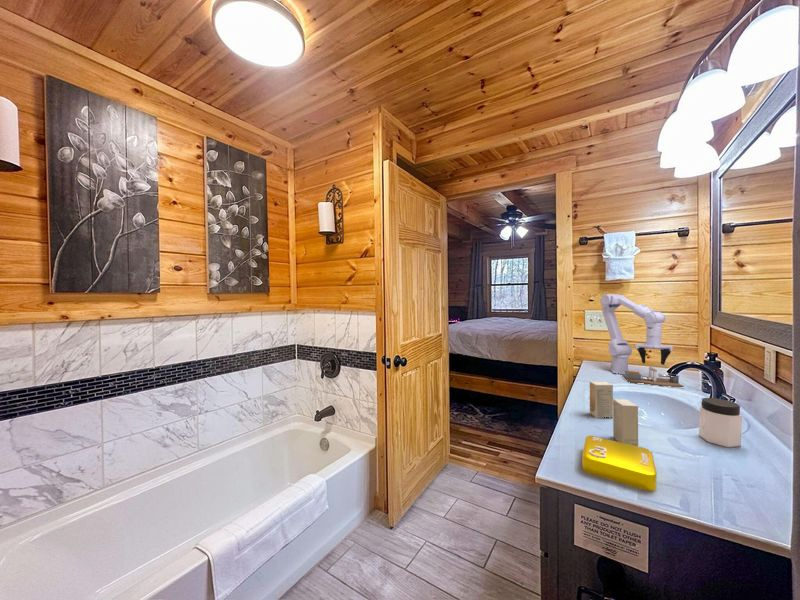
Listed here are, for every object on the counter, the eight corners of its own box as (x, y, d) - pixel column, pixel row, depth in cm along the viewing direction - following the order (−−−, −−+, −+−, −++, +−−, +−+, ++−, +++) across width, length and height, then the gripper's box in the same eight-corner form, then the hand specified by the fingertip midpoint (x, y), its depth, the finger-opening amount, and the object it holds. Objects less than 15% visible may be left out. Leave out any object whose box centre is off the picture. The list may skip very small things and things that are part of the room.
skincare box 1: (606, 413, 116) (607, 381, 115) (613, 418, 111) (614, 384, 111) (588, 413, 116) (589, 380, 116) (594, 417, 112) (595, 384, 111)
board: (622, 376, 163) (622, 375, 163) (672, 381, 156) (672, 379, 156) (629, 383, 152) (629, 381, 152) (683, 388, 145) (683, 386, 145)
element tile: (657, 495, 71) (657, 475, 70) (581, 473, 79) (581, 454, 79) (651, 464, 83) (651, 447, 83) (586, 448, 91) (586, 432, 91)
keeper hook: (656, 379, 155) (656, 371, 155) (674, 381, 152) (674, 372, 152) (660, 382, 151) (660, 373, 151) (678, 383, 148) (678, 375, 148)
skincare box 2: (638, 447, 91) (639, 406, 91) (621, 445, 92) (622, 405, 92) (627, 437, 97) (628, 399, 97) (611, 435, 98) (612, 398, 98)
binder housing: (625, 376, 160) (625, 369, 160) (637, 377, 158) (637, 370, 158) (628, 379, 155) (628, 372, 155) (640, 380, 153) (641, 373, 153)
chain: (627, 376, 160) (627, 365, 160) (651, 378, 156) (651, 366, 156) (631, 379, 154) (631, 367, 154) (656, 381, 151) (656, 369, 151)
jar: (694, 432, 101) (695, 395, 100) (726, 436, 98) (728, 398, 97) (710, 445, 92) (711, 405, 92) (746, 450, 89) (748, 409, 89)
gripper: (638, 336, 152) (638, 364, 152) (676, 338, 147) (675, 366, 147) (634, 334, 158) (633, 361, 159) (669, 336, 153) (668, 363, 154)
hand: (653, 363), depth 154 cm, fingers open, 7 cm apart
